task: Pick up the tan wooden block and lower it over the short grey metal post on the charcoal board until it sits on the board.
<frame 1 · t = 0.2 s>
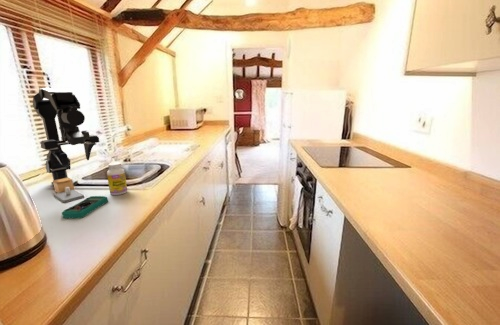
hand: (75, 162, 104), 14 cm above the worktop, tool pointing down, fingers open, 9 cm apart
supplement bottle: (119, 193, 109), on the worktop
digital multimeter: (87, 210, 93), on the worktop
tan wooden block: (64, 190, 113), on the worktop
post board: (69, 196, 105), on the worktop
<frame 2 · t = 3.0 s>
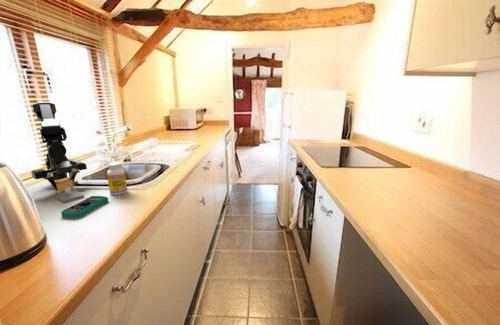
hand: (64, 188, 112), 1 cm above the worktop, tool pointing down, fingers closed on tan wooden block, 6 cm apart
tan wooden block: (64, 190, 113), on the worktop, touching gripper
everything else where it was.
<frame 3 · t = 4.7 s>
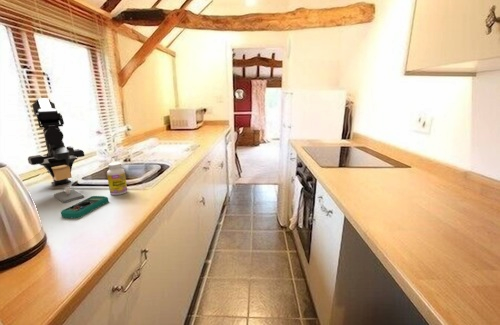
hand: (61, 175, 111), 7 cm above the worktop, tool pointing down, fingers closed on tan wooden block, 6 cm apart
tan wooden block: (62, 178, 111), point 6 cm above the worktop, touching gripper
everything else where it was.
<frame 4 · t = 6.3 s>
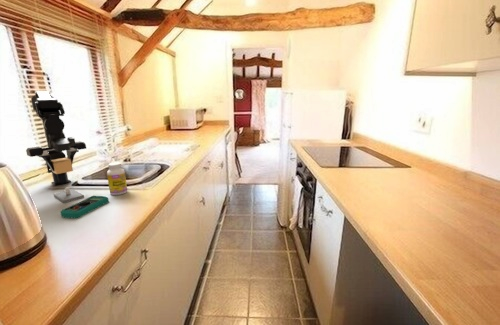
hand: (62, 169, 104), 11 cm above the worktop, tool pointing down, fingers closed on tan wooden block, 6 cm apart
tan wooden block: (62, 171, 105), point 10 cm above the worktop, touching gripper
everything else where it was.
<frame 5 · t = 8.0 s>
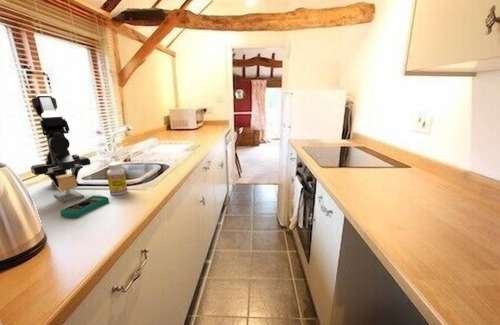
hand: (66, 185, 104), 5 cm above the worktop, tool pointing down, fingers closed on tan wooden block, 6 cm apart
tan wooden block: (67, 187, 104), point 4 cm above the worktop, touching gripper
everything else where it was.
when the fingers open (3 cm above the worktop, at t = 9.5 s): tan wooden block drops 1 cm, resting on post board.
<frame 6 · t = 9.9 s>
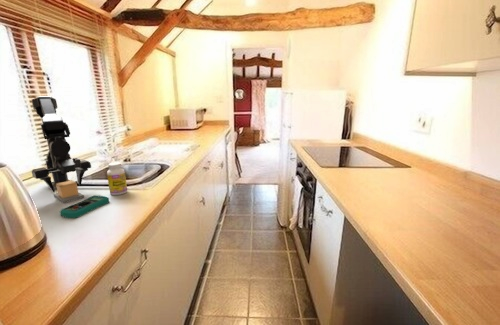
hand: (67, 188, 104), 3 cm above the worktop, tool pointing down, fingers open, 9 cm apart
tan wooden block: (68, 194, 105), point 1 cm above the worktop, touching post board
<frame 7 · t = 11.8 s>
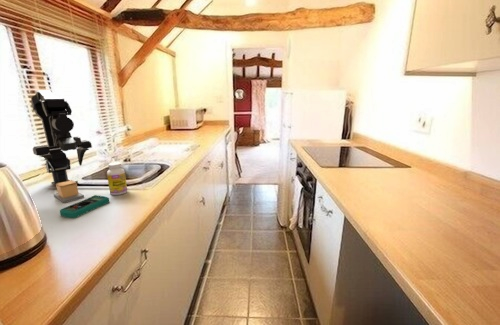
hand: (68, 167, 105), 12 cm above the worktop, tool pointing down, fingers open, 9 cm apart
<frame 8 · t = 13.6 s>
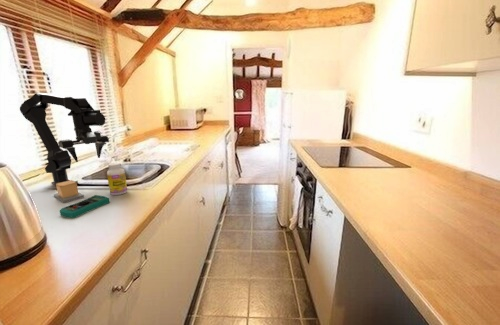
hand: (88, 159, 117), 12 cm above the worktop, tool pointing down, fingers open, 9 cm apart
at the end: tan wooden block 0.0 cm off-centre on the post board, point 1.0 cm above the post board's base; tan wooden block tilted 0°; the gripper is holding nothing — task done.
